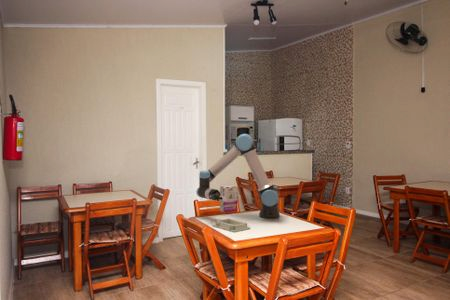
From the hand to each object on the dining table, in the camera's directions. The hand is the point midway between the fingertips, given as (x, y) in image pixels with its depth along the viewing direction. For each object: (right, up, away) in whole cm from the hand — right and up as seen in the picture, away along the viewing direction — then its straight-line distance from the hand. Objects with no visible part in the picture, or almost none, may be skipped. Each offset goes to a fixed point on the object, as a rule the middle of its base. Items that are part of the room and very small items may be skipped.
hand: (233, 198), depth 229 cm
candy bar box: (-3, -9, +4) cm, 10 cm away
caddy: (-1, -18, -5) cm, 19 cm away
